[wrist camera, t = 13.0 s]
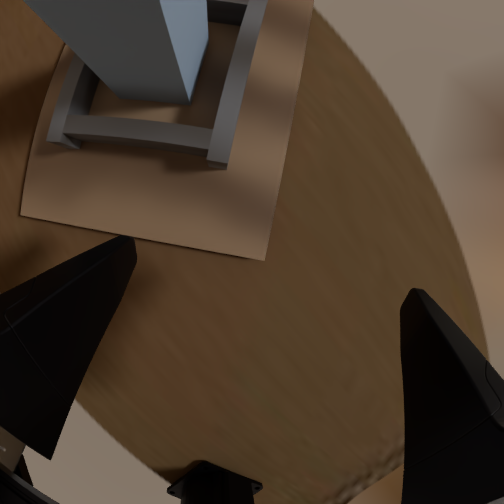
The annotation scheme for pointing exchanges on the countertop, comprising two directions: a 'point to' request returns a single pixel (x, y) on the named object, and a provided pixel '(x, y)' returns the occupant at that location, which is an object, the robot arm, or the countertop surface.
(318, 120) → the countertop surface
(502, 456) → the robot arm
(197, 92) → the jig cradle
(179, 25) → the block
